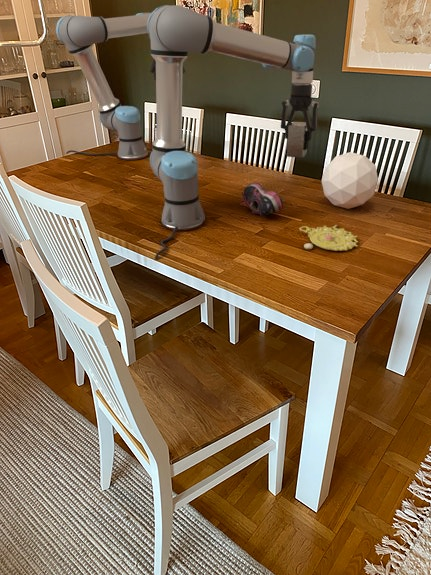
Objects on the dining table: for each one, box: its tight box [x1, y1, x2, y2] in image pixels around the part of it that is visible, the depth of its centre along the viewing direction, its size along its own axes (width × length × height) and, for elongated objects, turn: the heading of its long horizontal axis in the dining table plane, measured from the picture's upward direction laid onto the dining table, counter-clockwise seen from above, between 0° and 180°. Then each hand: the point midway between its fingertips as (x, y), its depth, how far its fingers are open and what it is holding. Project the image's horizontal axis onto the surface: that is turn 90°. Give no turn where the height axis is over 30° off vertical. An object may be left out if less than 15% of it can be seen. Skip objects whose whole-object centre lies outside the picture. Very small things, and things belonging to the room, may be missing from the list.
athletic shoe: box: [238, 182, 284, 217], centre depth 160 cm, size 11×22×12 cm
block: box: [286, 121, 308, 159], centre depth 171 cm, size 6×6×12 cm
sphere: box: [320, 151, 379, 210], centre depth 160 cm, size 19×20×20 cm
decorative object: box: [299, 224, 359, 252], centre depth 141 cm, size 21×2×20 cm
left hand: (169, 87), depth 239 cm, fingers open, 13 cm apart
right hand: (297, 148), depth 172 cm, fingers closed on block, 6 cm apart
